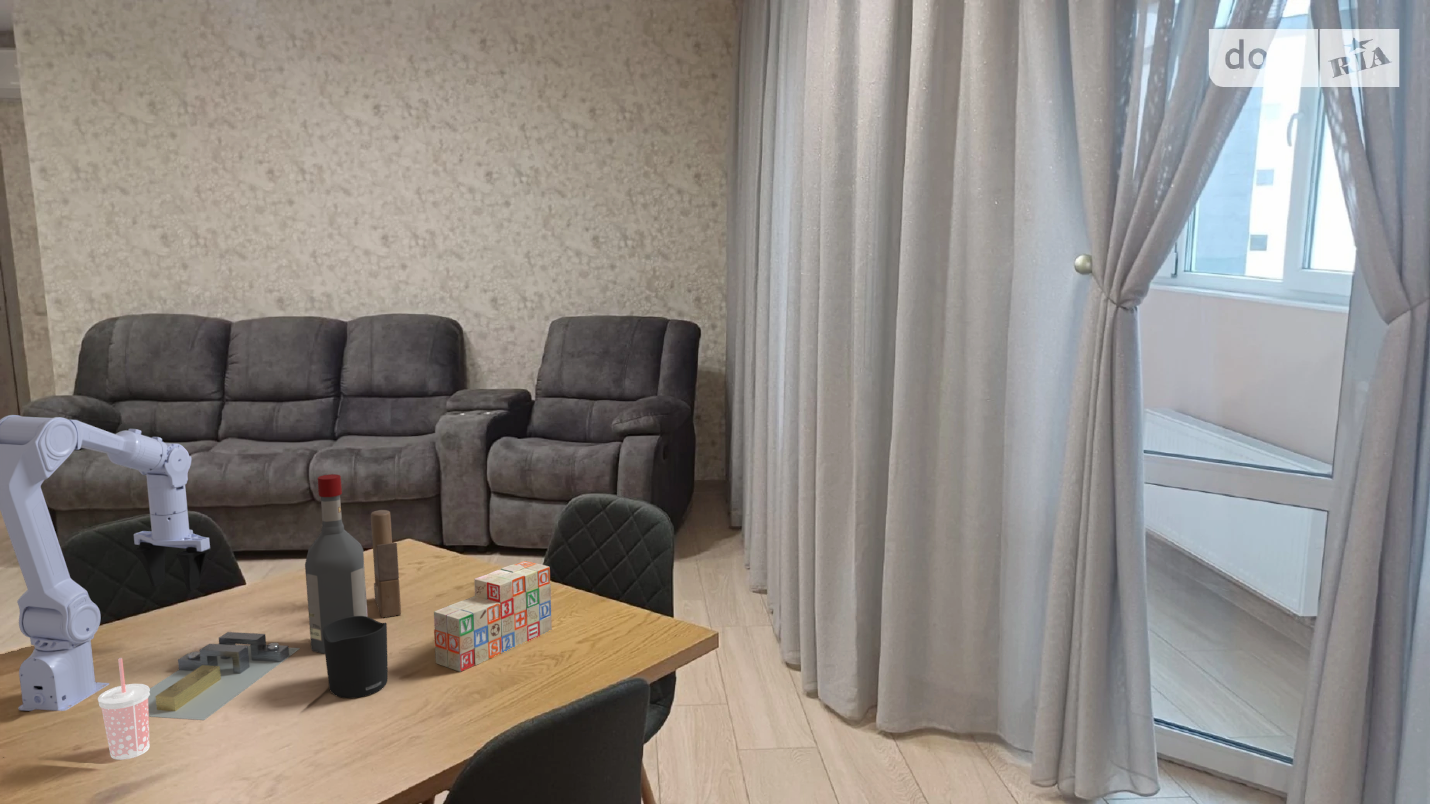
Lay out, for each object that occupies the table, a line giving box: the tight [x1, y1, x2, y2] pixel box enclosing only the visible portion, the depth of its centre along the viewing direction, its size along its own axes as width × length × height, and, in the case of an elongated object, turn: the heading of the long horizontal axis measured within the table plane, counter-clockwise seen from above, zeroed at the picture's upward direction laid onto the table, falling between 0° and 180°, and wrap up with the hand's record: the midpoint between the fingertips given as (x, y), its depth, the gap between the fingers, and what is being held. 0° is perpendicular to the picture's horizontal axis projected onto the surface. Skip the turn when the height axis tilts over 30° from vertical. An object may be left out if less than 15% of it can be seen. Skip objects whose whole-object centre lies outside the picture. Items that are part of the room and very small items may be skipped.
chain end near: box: [177, 643, 250, 674], centre depth 164 cm, size 2×11×4 cm, turn 82°
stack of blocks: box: [433, 560, 553, 673], centre depth 174 cm, size 21×6×12 cm, turn 145°
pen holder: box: [323, 616, 389, 699], centre depth 159 cm, size 9×9×10 cm
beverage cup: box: [97, 657, 151, 761], centre depth 138 cm, size 6×6×14 cm
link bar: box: [156, 665, 221, 711], centre depth 156 cm, size 11×3×2 cm, turn 172°
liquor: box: [304, 473, 369, 655], centre depth 173 cm, size 9×9×30 cm
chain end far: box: [218, 631, 290, 663], centre depth 169 cm, size 2×11×4 cm, turn 82°
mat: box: [148, 644, 301, 721], centre depth 161 cm, size 26×15×1 cm, turn 172°
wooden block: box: [370, 509, 402, 618], centre depth 192 cm, size 4×11×18 cm, turn 25°
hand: (175, 586), depth 177 cm, fingers open, 7 cm apart
